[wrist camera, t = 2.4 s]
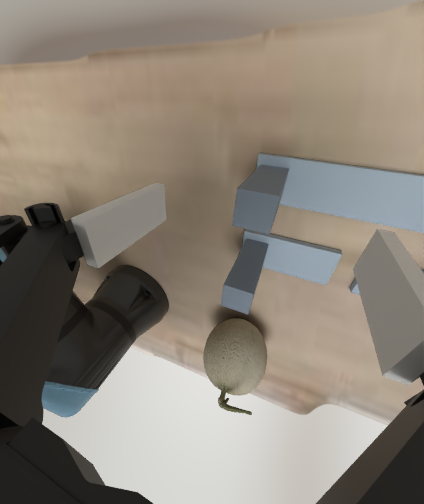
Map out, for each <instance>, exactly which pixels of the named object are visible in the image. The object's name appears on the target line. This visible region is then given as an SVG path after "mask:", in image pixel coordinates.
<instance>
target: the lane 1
mask: <svg viewBox="0 0 424 504" xmlns="http://www.w3.org/2000/svg"><path fill="white" fill-rule="evenodd" d="M279 204H280V205H285V206H290V207H295V208H300V209H305V210H310V211H315V212H320V213H325V214H330V215H335V216H340V217H345V218H351V219H356V220H361V221H366V222H371V223H376V224H381V225H386V226H391V227H396V228H401V229H406V230H411V231H416V232H421V233H424V175H420V174H413V173H405V172H398V171H390V170H383V169H376V168H368V167H361V166H354V165H346V164H339V163H332V162H324V161H317V160H310V159H302V158H295V157H288V156H280V155H273V154H266V153H259V156H258V161H257V167H256V170H255V171H254V172H253V173H252V174H251V175H250V176H249V177H248V178H247V179H246V180H245V181H244V182H243V183H242V184H241V185H240V186H239V187H238V188H237V195H236V202H235V209H234V216H233V223H232V226H236V227H240V228H245V229H249V230H253V231H257V232H261V233H265V234H270V231H271V228H272V225H273V222H274V219H275V216H276V213H277V210H278V207H279Z"/></svg>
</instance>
